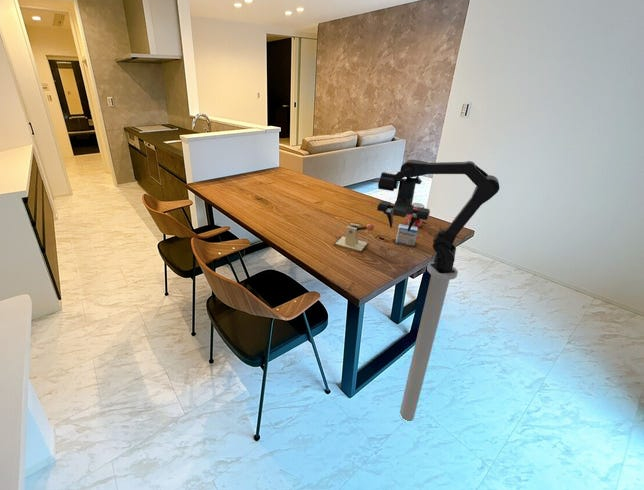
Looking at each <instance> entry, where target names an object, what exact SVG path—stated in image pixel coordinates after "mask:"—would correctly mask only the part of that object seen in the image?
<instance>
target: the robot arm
mask: <svg viewBox="0 0 644 490" xmlns="http://www.w3.org/2000/svg"><path fill="white" fill-rule="evenodd" d="M426 175H465V176H466V177H468V179H469V180H470V181H471V182H472V184H474V185H475V188H474V190H473V192H472V194H471V197H470V198H469V199H468V201H467V202H466V203H465V204H464V206H463V207H462V208H461V209H460V211H459V212H458V213H457V215H456V216H455V217H454V219H453V220H452V221H451V222H450V224H449V225H448V226H447V227H446V228H444V229H443V228H442V227H440V228H439V230H438V231H437V233H436V234H434V236H433V239H432V242H433V243H432V248H433V250H434V251H435V252H436V254H435V257H434V261H433V262H434V263H431V264H430V265H431V266H432V267H433V268H434V269H435V270H436V271H437V272H439V273H455V270H453V269H452V268H453V267H454V263H455V260H456V253H457V252H456V251H457V247H456V246H455V245H454V242H455V240H456V238H457V235H459V233H460V232H461V230H463V228H464V227H465V226H466V225H467V224H468V222H469V221H470V220H471V219H472V217H473V216H474V215H475V213H476V212H477V211H478V210H479V209H480V207H481V206H482V205H483V204H485V203H487V202H488V201H489V200H491V199H492V198H493V197H495V196H496V195H497V194H498V192H499V191H500V182H499V179H498V178H497V177H496V176H494V175H492V174H491V175H489V174H488V173H487V172H486V171H485V170H483V169H482V168H481V167H479V166H478V165H477V164H476V163H475V162H473V161H471V160H469V161H449V162H448V161H446V162H443V161H441V162H428V161H423V160H418V159H408V160H406V161H405V162H404V163H403V164H402V165H401V167H400V171H397V172H396V173H390V172H386V171H383V172H381V174H380V177H379V181H378V183H377V188H378V190H383V191H389V192H395V190H397V189H398V190H397V196H396V200H395V201H394V204H392V202H391V201H386V200H381V201H380V202H379V203H378V204H377V207H376V211H378V212H383V214H385V215H386V217H387V219H388V223H389V227H390V229H392V227H393V225H394V217H401V218H406V217H407V216H408V215H409V214H410V215H412V214H413V216H412V218H411V221H410V224H409V225H408V226H409V227H408V232H409V230H410V229H411V227H412V225H413V224H414V222H415V221H416V220H420V219H423V221H428V219H429V217H430V214H431V210H430V209H429V208H427V207H424V208H421V207H419V209H418V210H416V209H414V206H413V205H412V204H413V200H414V195H415V189H416V185H421V184H422V182H423V180H421V179H422V178H420V177H421V176H426Z"/></svg>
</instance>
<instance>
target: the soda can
mask: <svg viewBox="0 0 644 490" xmlns="http://www.w3.org/2000/svg"><path fill="white" fill-rule="evenodd" d="M412 205H413V206H414V209H416V210H418V209H419V207H421V208H425V205H424V204H423V203H419V202H412ZM412 216H413V214H412V215H410V214H409V215H407V220H406V225H408V226H409V224H410V221H411V218H412ZM423 221H424V220H423V219H420V220H416V221H415V222H414V224H413V225H412V226H414V227H418V228H420V227H422V224H423Z"/></svg>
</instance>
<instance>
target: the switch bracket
mask: <svg viewBox="0 0 644 490" xmlns="http://www.w3.org/2000/svg"><path fill="white" fill-rule="evenodd" d="M351 226H356V228H354V227H351ZM358 227H361V224H357V223H353V222H350V223H349V225H347V226H346V229H345V236H343V235H342V236H341V238H340V239H338V240H337V241H336V242H335V245H337V246H341V247H344V248H347V249H352V250H355V251H359V252H362V251H363V250H364V249H365V247H366V246H367V245H368V242H367V241H363V240H360V239H359V236H360V230H357V228H358Z"/></svg>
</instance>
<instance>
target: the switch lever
mask: <svg viewBox="0 0 644 490" xmlns="http://www.w3.org/2000/svg"><path fill="white" fill-rule="evenodd" d="M351 227H354V228H356V226H351ZM374 229H375V225H374V224H373V223H368V224H366V226H365V225H364V226H360V227H358V228H357V230H359V231H363V230H367V231H369V232H372V231H374Z"/></svg>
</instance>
